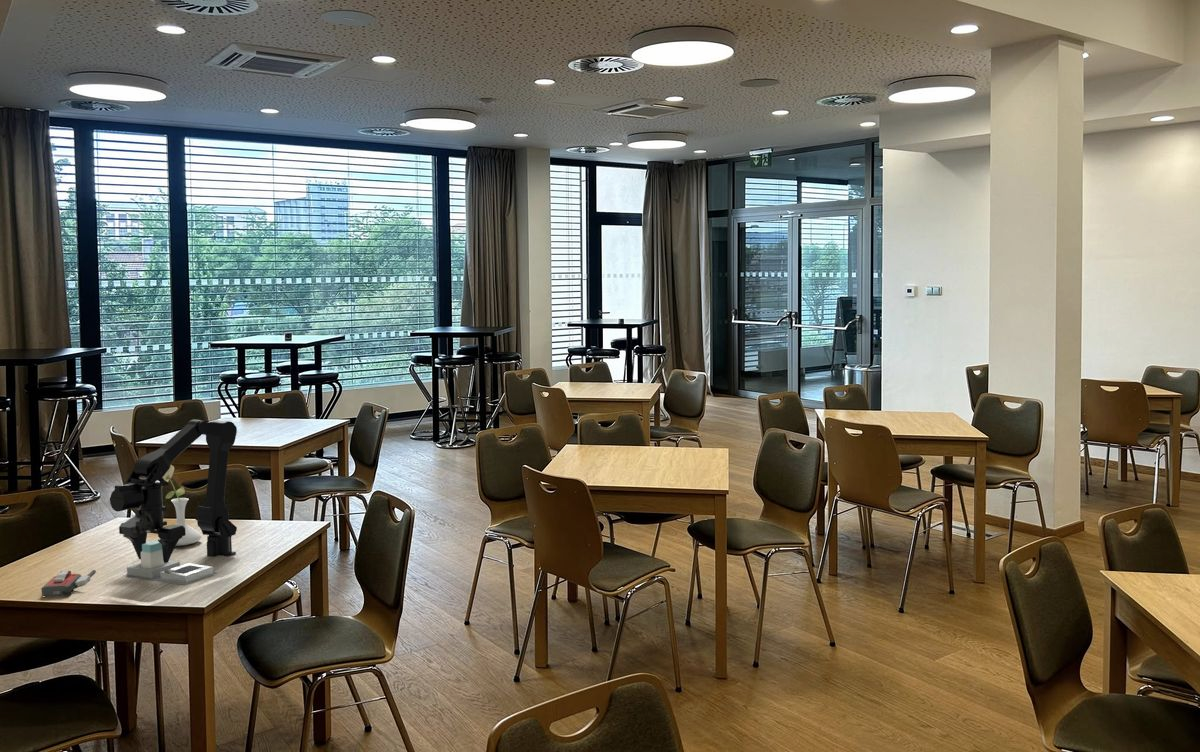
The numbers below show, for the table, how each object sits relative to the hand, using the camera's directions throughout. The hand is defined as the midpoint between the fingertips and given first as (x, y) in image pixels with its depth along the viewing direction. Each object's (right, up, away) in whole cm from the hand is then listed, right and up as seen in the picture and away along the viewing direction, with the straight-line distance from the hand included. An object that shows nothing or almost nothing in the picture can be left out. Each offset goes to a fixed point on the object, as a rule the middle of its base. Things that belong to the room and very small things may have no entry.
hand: (153, 560), depth 266 cm
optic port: (+11, -4, -4) cm, 13 cm away
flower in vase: (-7, -1, +33) cm, 33 cm away
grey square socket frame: (0, -4, 0) cm, 4 cm away
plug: (0, -3, 0) cm, 3 cm away
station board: (+5, -4, -2) cm, 7 cm away
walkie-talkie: (-17, -5, -10) cm, 21 cm away
